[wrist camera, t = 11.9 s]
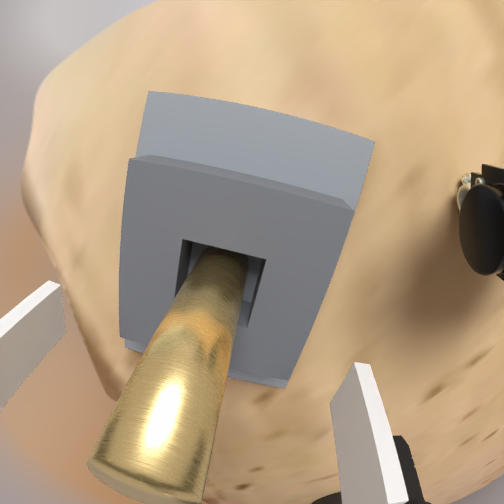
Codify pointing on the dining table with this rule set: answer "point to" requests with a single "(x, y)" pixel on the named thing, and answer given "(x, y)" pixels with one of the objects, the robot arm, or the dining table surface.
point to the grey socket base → (237, 220)
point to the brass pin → (176, 390)
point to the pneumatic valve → (483, 219)
